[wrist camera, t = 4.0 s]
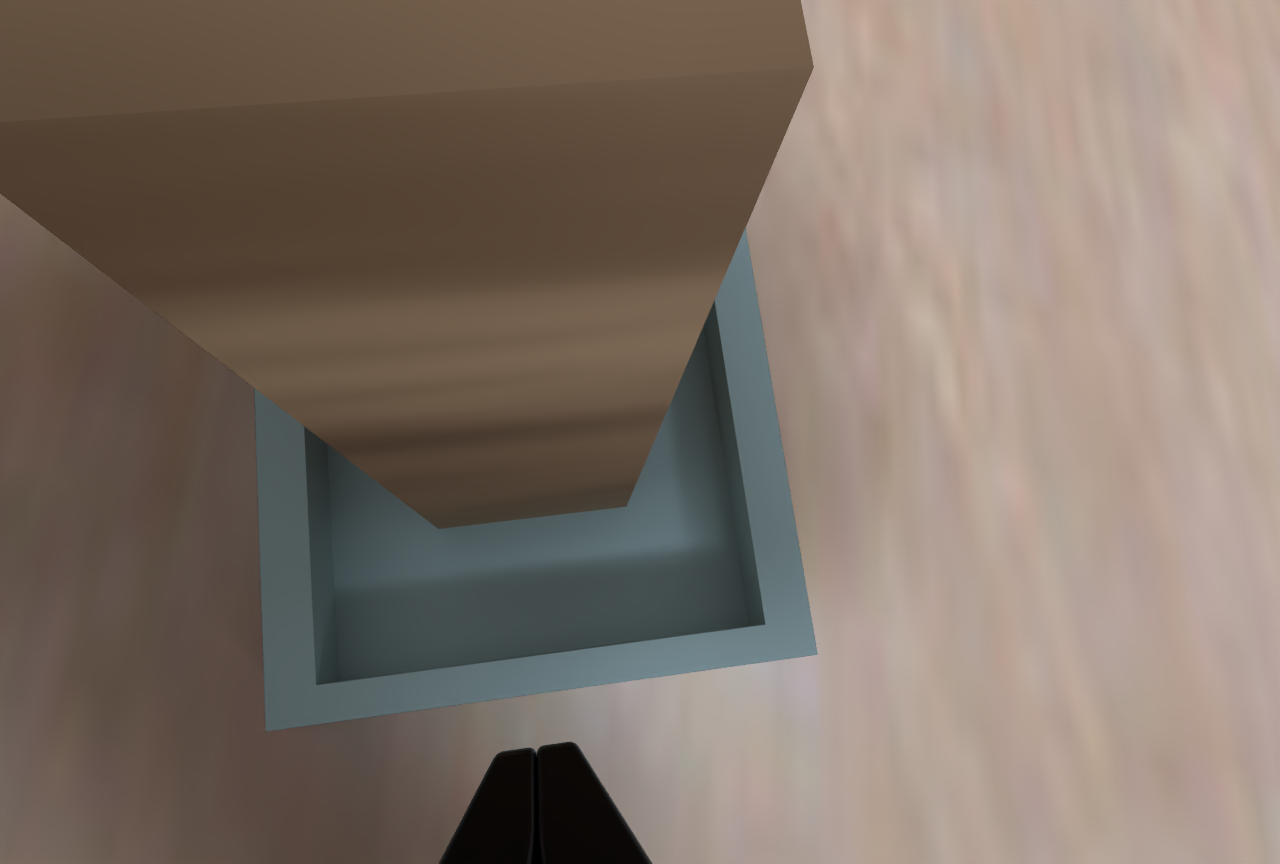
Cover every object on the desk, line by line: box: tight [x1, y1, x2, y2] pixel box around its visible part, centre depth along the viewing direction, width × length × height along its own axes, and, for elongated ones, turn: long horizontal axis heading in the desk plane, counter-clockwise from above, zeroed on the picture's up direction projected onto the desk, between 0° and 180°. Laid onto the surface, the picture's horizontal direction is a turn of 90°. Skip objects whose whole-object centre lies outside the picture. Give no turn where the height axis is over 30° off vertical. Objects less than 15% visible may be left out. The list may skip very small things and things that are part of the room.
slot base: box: [254, 228, 818, 732], centre depth 16 cm, size 21×9×4 cm, turn 7°
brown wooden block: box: [0, 0, 814, 529], centre depth 11 cm, size 10×4×13 cm, turn 7°
